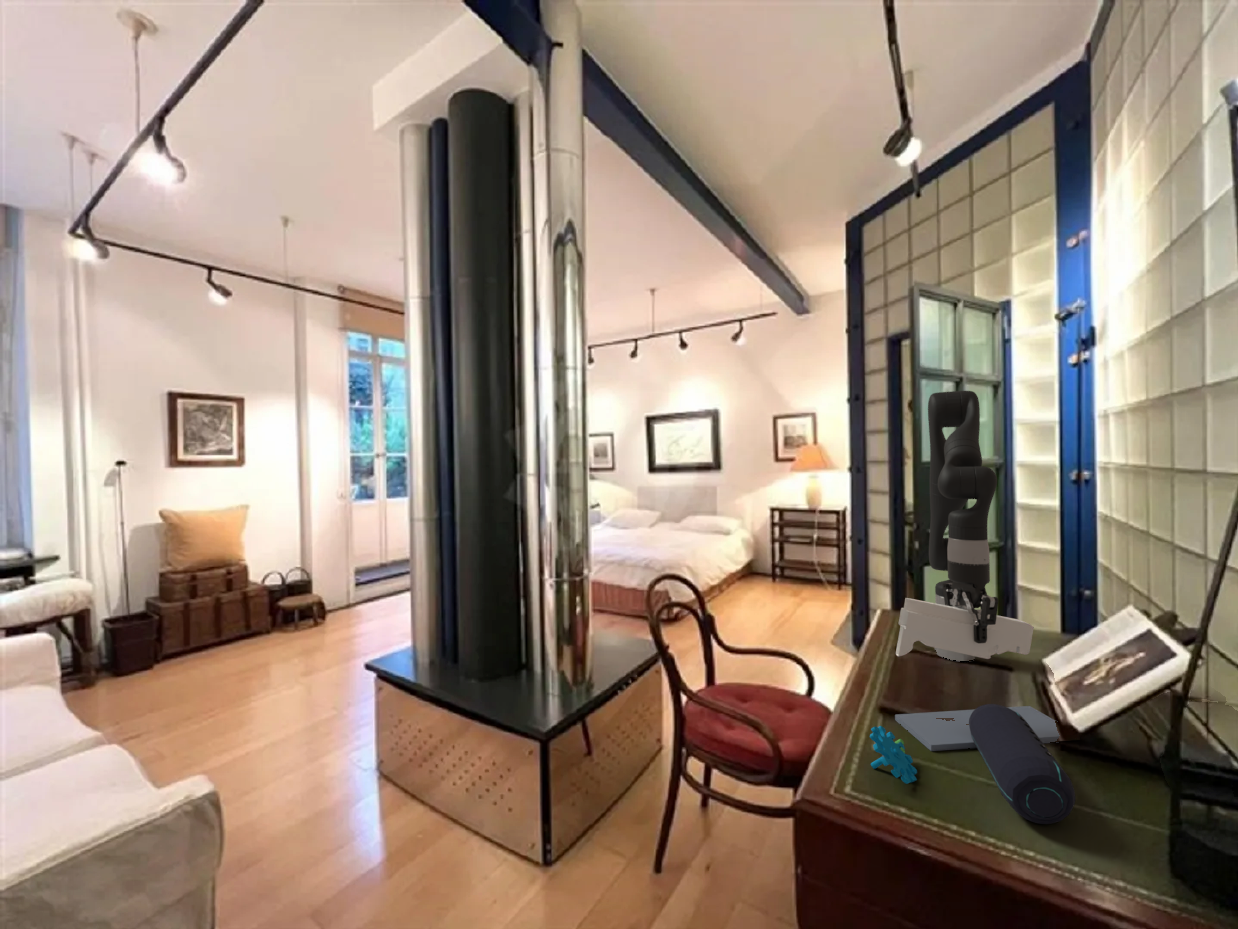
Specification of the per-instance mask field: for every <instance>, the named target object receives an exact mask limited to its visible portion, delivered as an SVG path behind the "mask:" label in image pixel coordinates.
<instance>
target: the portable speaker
mask: <svg viewBox="0 0 1238 929" xmlns="http://www.w3.org/2000/svg"><path fill="white" fill-rule="evenodd" d="M1007 707H1008V706H1005V705H1002V704H997V703H985V704H982V705H979V706H977V707H976V708H975V710H974V709H973V710H974V711H973V712H972V714H971V716H970V718H969V727H970V732H971V736H972V739H973V741H974V743H975V745H976V747H977V748H976V749H977V751H978V752H979V754H980V756H981V758H982V760H983V762H984V764H985V766H986V768H987V769H988V771H989V773H990V775H991V776H992V779H993V780H994V782H995V784H996V786H997V788H998V790H999V792H1000V793H1001V795H1002V796H1003V798H1004V799H1005V800H1006V802H1007V803H1008V804H1009V806H1010V807H1011V808H1012V809H1013V811H1014V812H1015V813H1017V814H1018V815H1019V816H1021V817H1022V818H1023V819H1025V820H1028V821H1030V822H1032V823H1035V824H1039V825H1051V824H1055V823H1059V822H1062V821H1063V820H1064V819H1066V818H1067V817H1068V816H1069V815H1070V814H1071V813H1072V811H1073V808H1074V806H1075V804H1076V792H1075V788H1074V785H1073V782H1072V779H1071V778H1070V777H1069V775H1068V774H1067V772H1066V771H1065V770H1064V768H1062V766H1061V765H1060V764H1059V762H1058V761H1057V760H1056V758H1055V757H1054V756H1053V754H1052V753H1051V752H1050V751H1049V749H1048V748H1047V746H1046V745H1045V743H1042V741H1041V740H1040V739H1039V737H1038V736H1037V735H1036V733H1035V732H1034V731H1033V729H1032V728H1031V727H1030V726H1029V724H1028V723H1027V722H1026V721H1025V719H1024V718H1023V717H1022V716H1021V715H1020V714H1018V713H1017V712H1015V711H1013V710H1011V709H1009V708H1007Z"/></svg>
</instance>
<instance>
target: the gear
mask: <svg viewBox="0 0 1238 929" xmlns="http://www.w3.org/2000/svg"><path fill="white" fill-rule="evenodd" d="M870 730H871V732H872V733H870V734H869V738H870V739H871V740H872V741H873V742H874V744H872V747H873V751H875V752H876V753H878V754H880V755H881V756H880V757H878V758H877V759H876V760H873V761H872V762H871V763H870V766H871V768H873V770H876V769H877V768H878V767H881V766H882V765H883V766H884V767H887V766H889V765H890V766H892V767H893V769H891V770H890V772H891V774H892V775H893V776H894V777H895V778H896V779H898V778H899V777H900V779H901V781H902V783H904V784H906V785H907V784H909V783H914V782H916V781H917V780H918V779H917V777H916V776H915V775H917V774H918V770H917V769H916V767H915V766H913V765H912V763H914V761H913V758H912V756H911V755H910V754H907V753H906V751H905V750H906V748H905V742H904V740H903V739H902V738H899V739H897V740H896V736H895V735H894V733H893V732H892V731H889V732H887V730H886V728H885V727H883V726H882V725H880V726H873V727H871V728H870ZM894 740H895V741H894Z"/></svg>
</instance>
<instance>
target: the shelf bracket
mask: <svg viewBox="0 0 1238 929" xmlns="http://www.w3.org/2000/svg"><path fill="white" fill-rule="evenodd" d="M904 598H905V599H904V604H903V607H901V608H900V614H899V618H898V625H899V626H900V628H899V633H898V639H897V644H896V651H895V655H896V656H897V657H902V656H905V655H907V654H908V653H910V652H911V651H912V650H913V648H914V643H915V642H920V643H921V644H922V645H925V646H927V647H929V648H930V647H931V648H934V649H935V648H940V649H944V650H949V651H953V652H958V653H962V654H967V655H971V656H975V658H981V659H986V660H989V659H991V658H992V657H991V656H993V655H996V654H997V655H1002V654H1004V653H1006V652H1011V653H1015V654H1016V653H1018V654H1020V655H1021V654H1022V655H1026V656H1027V655H1029V654H1030V652H1031V651H1030V650H1031V646H1032V645H1031V644H1032V640H1033V633H1034V626H1033V625H1032V624H1030V623H1028V622H1026V621H1023V620H1021V619H1017V618H1013V617H1007V616H1001V615H998V614H997V617H996V624H995V625H988V626H987V641H986V643H976V642H975V641H974V625H975V624H974V621H973V618H972V615H971V614H969V612H968V610H967V609H962V608H957V607H952V606H946V605H941V604H936V602H931V601H924V600H919V599H914V598H910V597H909V598H908V597H904ZM980 617H981V615H980V614H978V618H979V619H980ZM987 617H988V619H989V618H990V615H988V616H987Z"/></svg>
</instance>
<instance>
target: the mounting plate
mask: <svg viewBox="0 0 1238 929" xmlns="http://www.w3.org/2000/svg"><path fill="white" fill-rule="evenodd" d="M1006 707H1007V708H1009V709H1011V710H1013V711H1015V712H1017V713H1018V714H1020V715H1021V716H1022V717H1023V718H1024V719H1025V721H1026V722H1027V723H1028V724H1029V726H1030V727H1031V728H1032V729H1033V731H1034V732H1035V733H1036V735H1037V736H1038V737H1039V739H1040V740H1041V741H1042V743H1043V744H1051V743H1050V742H1055V741H1057V739H1058V738H1059V736H1060V735H1059V733H1058V731H1057V727H1056V723H1055V721H1056V720H1055V719H1053V717H1052V718H1051V717H1050V716H1048V715H1046V714H1044V713H1043V712H1041V711H1040V710H1037V709H1036V708H1034V707H1032V706H1030V705H1025V706H1022V705H1020V706H1006ZM975 709H976V708H975ZM975 709H961V710H948V711H947V710H946V711H931V712H915V713H914V712H913V713H899V714H895V715H894V720H895V721H896V722H897V723H898V724H899V725H900V724H901V725H900V726H901V727H902V728H904V730H906V731H907V730H908V731H907V732H908V733H910V735H912V736H913V737H915V739H916V740H918V742H920V743H921V744H922V745H924V747H926V749H928V750H929V751H930V752H937V751H938V752H939V751H950V750H951V751H952V750H969V749H968V748H970V749H977V747H976V745H975V743H974V741H973V739H972V736H971V732H970V727H969V725H966V724H969V718H970V716H971V714H972V712H973V711H974V710H975ZM936 718H954V719H953V720H955V721H952V720H950V721H946V720H945V719H944V720H942V719H936Z"/></svg>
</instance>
